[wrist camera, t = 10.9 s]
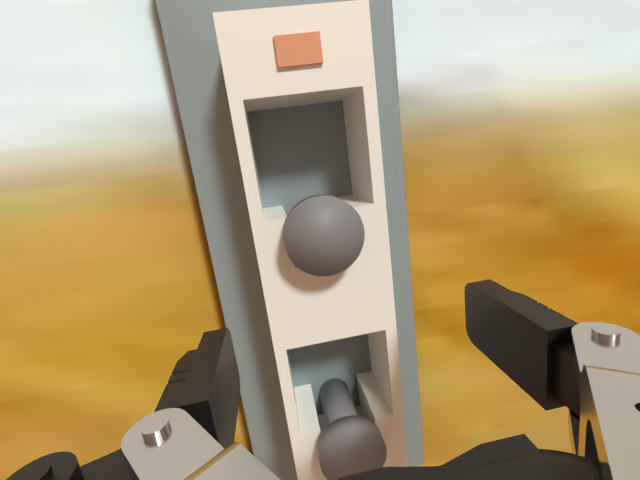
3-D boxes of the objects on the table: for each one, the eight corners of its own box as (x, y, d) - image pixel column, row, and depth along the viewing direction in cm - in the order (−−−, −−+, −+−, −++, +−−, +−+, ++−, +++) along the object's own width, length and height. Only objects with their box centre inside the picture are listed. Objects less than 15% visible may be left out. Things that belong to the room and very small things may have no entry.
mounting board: (376, -45, 17) (438, -154, 11) (414, 444, 24) (464, 540, 18) (156, -29, 15) (90, -143, 10) (264, 480, 22) (264, 596, 16)
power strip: (346, 32, 16) (369, -3, 12) (385, 424, 21) (410, 478, 17) (223, 44, 15) (211, 10, 12) (295, 446, 20) (302, 506, 17)
